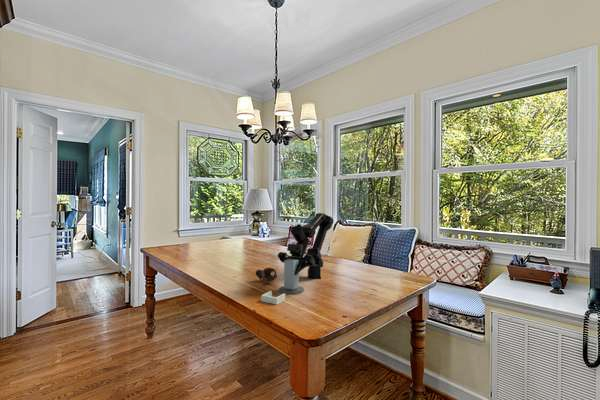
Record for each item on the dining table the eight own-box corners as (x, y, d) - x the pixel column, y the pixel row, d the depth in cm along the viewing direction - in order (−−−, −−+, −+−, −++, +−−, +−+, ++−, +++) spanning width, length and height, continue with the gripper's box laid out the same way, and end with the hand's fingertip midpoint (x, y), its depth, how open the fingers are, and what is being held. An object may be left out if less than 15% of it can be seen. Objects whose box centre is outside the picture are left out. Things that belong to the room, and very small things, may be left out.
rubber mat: (302, 286, 144) (302, 284, 144) (305, 293, 132) (305, 292, 132) (278, 286, 142) (278, 285, 142) (279, 294, 130) (279, 293, 130)
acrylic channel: (270, 296, 128) (270, 290, 128) (285, 299, 124) (285, 293, 124) (261, 301, 122) (261, 295, 122) (276, 304, 118) (276, 298, 118)
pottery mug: (278, 280, 156) (280, 268, 152) (272, 292, 148) (274, 281, 144) (257, 273, 158) (259, 262, 154) (250, 285, 150) (251, 273, 146)
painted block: (289, 285, 140) (289, 258, 140) (298, 286, 138) (298, 259, 138) (284, 288, 136) (284, 260, 136) (293, 289, 133) (293, 261, 134)
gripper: (279, 236, 145) (266, 262, 135) (312, 238, 136) (301, 266, 126) (287, 249, 152) (275, 275, 142) (319, 252, 143) (309, 280, 133)
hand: (290, 274), depth 136 cm, fingers closed on painted block, 5 cm apart
